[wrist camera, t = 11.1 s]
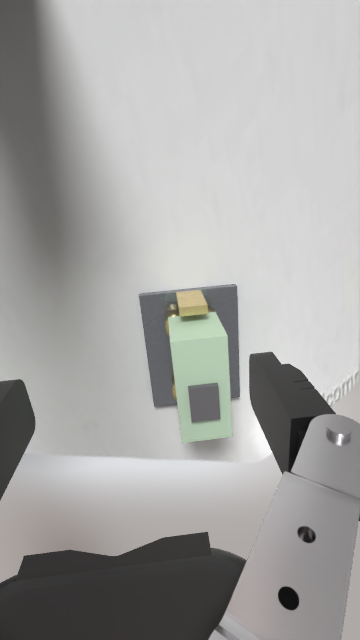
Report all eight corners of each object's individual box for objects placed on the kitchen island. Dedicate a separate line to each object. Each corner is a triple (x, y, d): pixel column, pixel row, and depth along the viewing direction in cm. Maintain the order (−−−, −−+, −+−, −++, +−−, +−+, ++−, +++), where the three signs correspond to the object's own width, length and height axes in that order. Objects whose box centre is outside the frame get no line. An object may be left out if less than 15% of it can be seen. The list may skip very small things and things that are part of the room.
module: (168, 317, 37) (170, 344, 30) (215, 311, 37) (228, 338, 30) (178, 404, 41) (182, 447, 34) (220, 399, 41) (233, 440, 34)
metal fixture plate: (139, 293, 40) (135, 312, 33) (235, 284, 40) (250, 300, 34) (154, 402, 46) (153, 435, 39) (238, 392, 46) (251, 424, 39)
